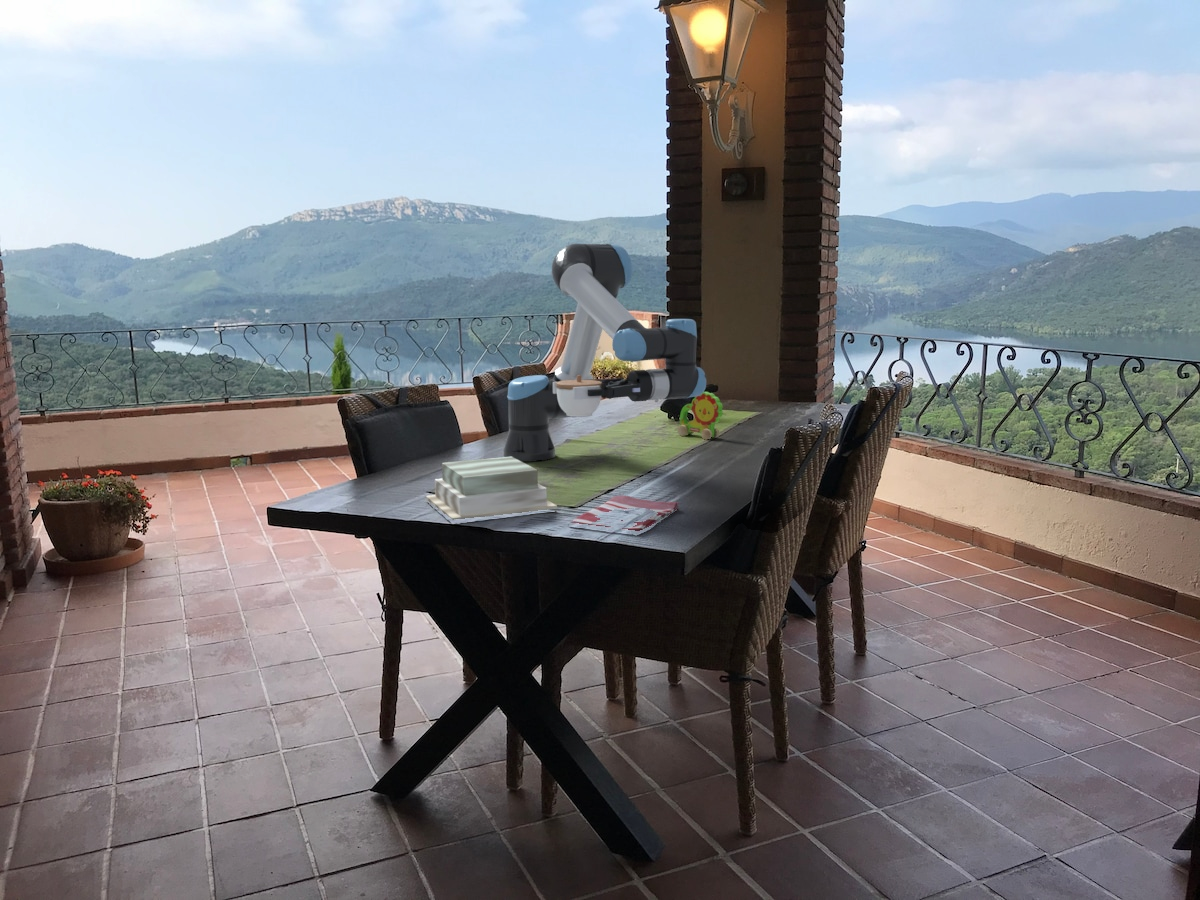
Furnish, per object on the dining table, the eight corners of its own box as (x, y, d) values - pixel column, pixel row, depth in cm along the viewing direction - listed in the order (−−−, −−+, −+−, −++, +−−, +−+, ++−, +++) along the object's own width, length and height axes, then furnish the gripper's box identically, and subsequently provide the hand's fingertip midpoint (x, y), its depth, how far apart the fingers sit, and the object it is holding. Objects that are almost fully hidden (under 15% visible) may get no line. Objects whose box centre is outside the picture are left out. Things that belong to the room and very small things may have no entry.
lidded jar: (568, 420, 199) (568, 378, 197) (549, 413, 209) (548, 374, 207) (610, 416, 204) (610, 376, 202) (589, 410, 213) (589, 372, 212)
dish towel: (680, 512, 199) (680, 500, 198) (640, 539, 178) (640, 526, 178) (612, 504, 206) (612, 493, 205) (566, 529, 185) (566, 517, 185)
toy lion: (676, 435, 292) (676, 390, 289) (686, 433, 296) (687, 388, 293) (715, 441, 282) (716, 394, 279) (725, 439, 285) (726, 392, 283)
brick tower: (426, 501, 206) (424, 462, 204) (522, 491, 216) (521, 453, 215) (452, 525, 187) (451, 481, 185) (556, 512, 197) (556, 470, 195)
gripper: (670, 406, 204) (584, 413, 194) (623, 395, 224) (543, 400, 214) (671, 374, 202) (584, 379, 192) (623, 365, 222) (543, 369, 213)
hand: (563, 390), depth 203 cm, fingers closed on lidded jar, 11 cm apart
